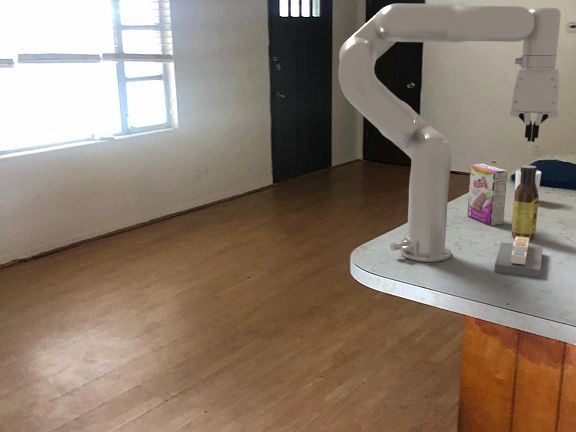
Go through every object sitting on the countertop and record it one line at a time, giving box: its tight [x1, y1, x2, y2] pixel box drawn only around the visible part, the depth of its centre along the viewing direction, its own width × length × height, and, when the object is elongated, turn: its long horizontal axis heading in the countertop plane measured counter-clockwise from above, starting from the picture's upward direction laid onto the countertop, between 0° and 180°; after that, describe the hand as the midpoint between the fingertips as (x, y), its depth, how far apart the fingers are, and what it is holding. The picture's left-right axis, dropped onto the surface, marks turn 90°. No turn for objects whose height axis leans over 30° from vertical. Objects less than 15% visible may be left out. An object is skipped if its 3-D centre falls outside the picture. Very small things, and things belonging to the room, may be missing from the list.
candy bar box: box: [466, 163, 508, 227], centre depth 183 cm, size 11×5×16 cm, turn 22°
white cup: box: [514, 168, 542, 192], centre depth 204 cm, size 8×8×10 cm
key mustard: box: [514, 236, 530, 245], centre depth 155 cm, size 3×3×4 cm
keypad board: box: [493, 241, 544, 278], centre depth 151 cm, size 17×10×2 cm, turn 157°
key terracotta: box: [513, 241, 528, 255], centre depth 148 cm, size 3×3×4 cm
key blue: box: [511, 251, 527, 266], centre depth 145 cm, size 3×3×4 cm
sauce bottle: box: [511, 164, 540, 240], centre depth 167 cm, size 7×6×20 cm
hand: (531, 140), depth 149 cm, fingers closed
